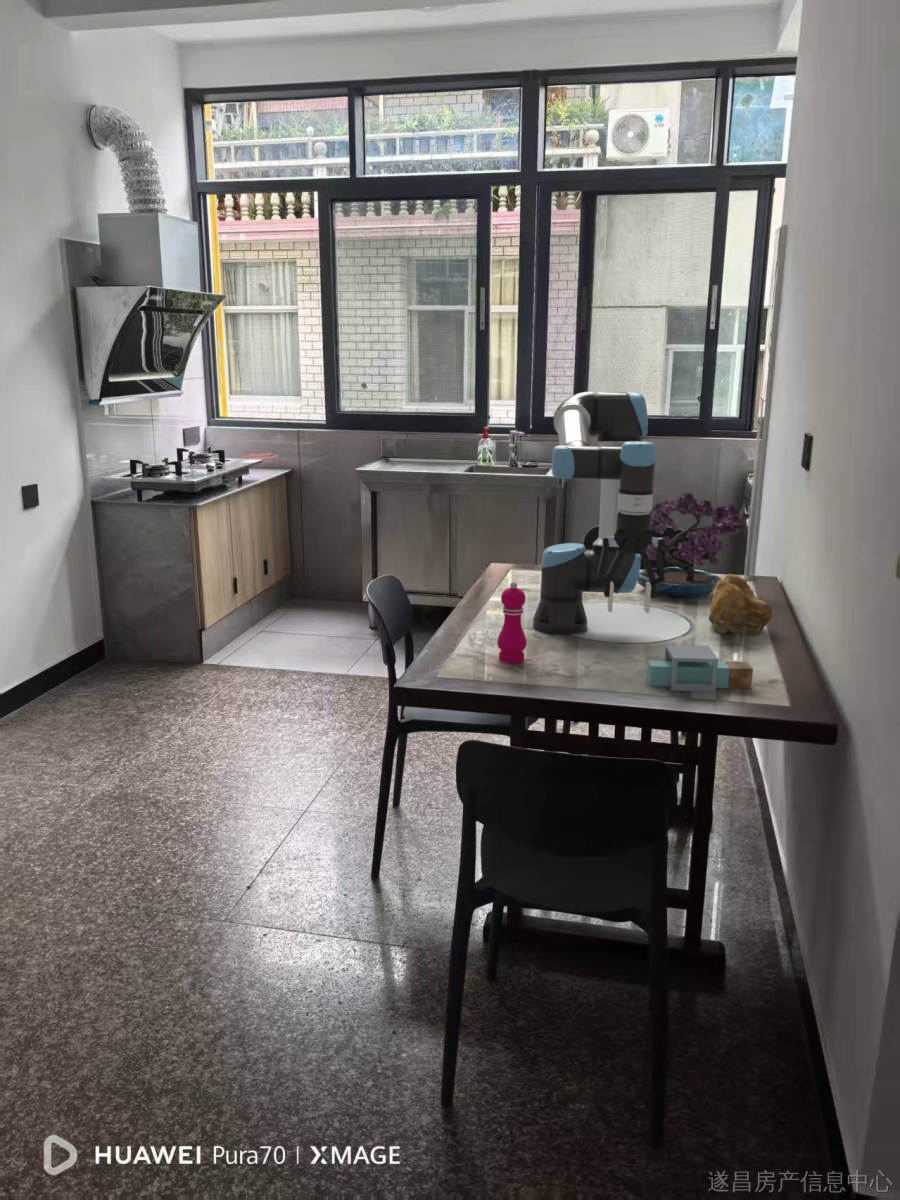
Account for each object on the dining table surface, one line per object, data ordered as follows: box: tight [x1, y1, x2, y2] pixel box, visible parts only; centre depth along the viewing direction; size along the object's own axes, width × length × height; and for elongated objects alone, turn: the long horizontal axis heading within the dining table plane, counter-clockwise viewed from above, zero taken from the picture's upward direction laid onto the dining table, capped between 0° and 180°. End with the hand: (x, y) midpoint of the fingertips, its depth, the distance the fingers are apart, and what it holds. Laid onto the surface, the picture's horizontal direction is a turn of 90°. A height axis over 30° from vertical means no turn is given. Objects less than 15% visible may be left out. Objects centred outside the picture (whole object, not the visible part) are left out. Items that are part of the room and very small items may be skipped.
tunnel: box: [663, 644, 719, 693], centre depth 212 cm, size 10×10×8 cm
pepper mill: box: [496, 581, 527, 664], centre depth 226 cm, size 7×7×20 cm
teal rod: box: [646, 660, 730, 689], centre depth 212 cm, size 18×4×5 cm, turn 87°
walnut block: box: [724, 660, 754, 690], centre depth 212 cm, size 5×5×5 cm
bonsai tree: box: [637, 492, 751, 600], centre depth 293 cm, size 35×27×32 cm
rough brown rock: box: [708, 573, 773, 636], centre depth 254 cm, size 23×16×15 cm
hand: (628, 610), depth 209 cm, fingers open, 8 cm apart
